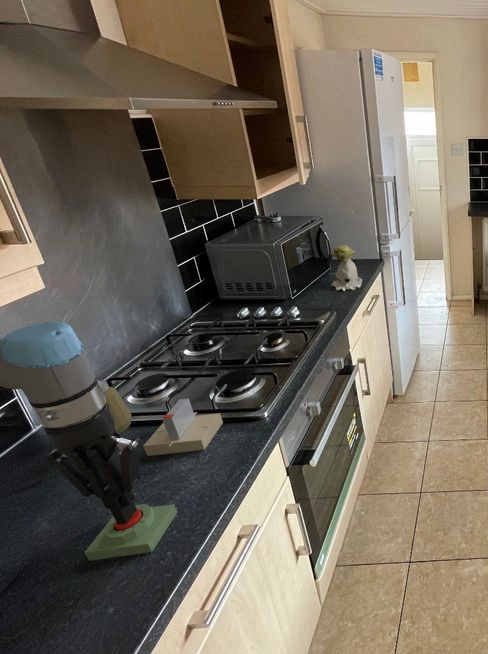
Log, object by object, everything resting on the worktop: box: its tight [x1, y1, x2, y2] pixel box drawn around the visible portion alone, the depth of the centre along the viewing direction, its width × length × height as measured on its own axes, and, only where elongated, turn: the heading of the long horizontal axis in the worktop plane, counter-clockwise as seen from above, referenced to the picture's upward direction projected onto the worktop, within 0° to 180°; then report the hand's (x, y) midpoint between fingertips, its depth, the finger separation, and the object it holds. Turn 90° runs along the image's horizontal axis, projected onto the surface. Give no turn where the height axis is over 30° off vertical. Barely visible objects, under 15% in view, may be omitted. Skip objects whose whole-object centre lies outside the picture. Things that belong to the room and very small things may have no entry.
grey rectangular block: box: [162, 397, 196, 440], centre depth 97 cm, size 7×2×6 cm, turn 10°
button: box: [114, 509, 143, 531], centre depth 76 cm, size 4×4×2 cm
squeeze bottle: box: [97, 379, 132, 434], centre depth 97 cm, size 8×8×18 cm
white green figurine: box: [330, 244, 363, 292], centre depth 180 cm, size 12×13×18 cm
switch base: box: [143, 411, 224, 457], centre depth 99 cm, size 12×11×3 cm
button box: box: [84, 503, 178, 562], centre depth 77 cm, size 10×8×4 cm
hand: (127, 516), depth 76 cm, fingers closed
